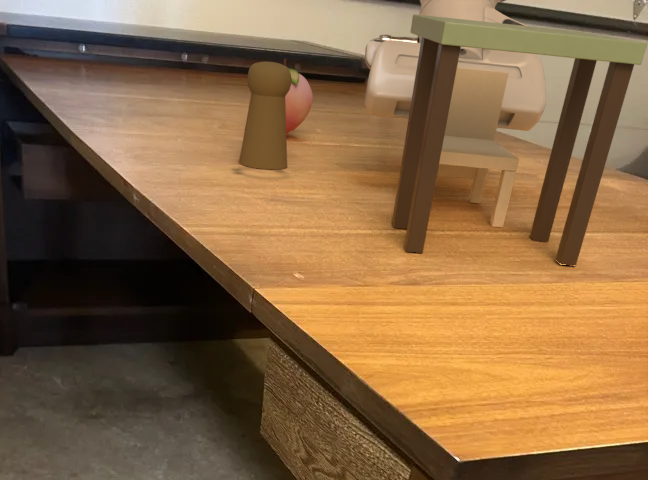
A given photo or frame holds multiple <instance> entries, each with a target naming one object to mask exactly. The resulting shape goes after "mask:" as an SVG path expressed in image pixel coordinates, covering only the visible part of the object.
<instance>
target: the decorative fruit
mask: <svg viewBox="0 0 648 480" xmlns="http://www.w3.org/2000/svg"><path fill="white" fill-rule="evenodd" d="M283 65H284V66H286V67H287V58H283ZM289 71H290V73H291V79H292V80H291V87H290V90H289V92H288V93H287V95H286V96H285V105H286V135H287V134H290V133H291V132H293V131H294V130H296V129H297V128H298V127H299V126H300V125H301V124H302V123H303V122H304V121H305V119H306V118H307V117H308V115H309V114H310V112H311V109H312V106H313V101H314V94H313V91H312V87H311V85H310V84H309V82H308V80H307V79H306V77H305V76H303V75H302V74H301V73H299V72H298V70H296V69H293V68H289Z"/></svg>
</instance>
